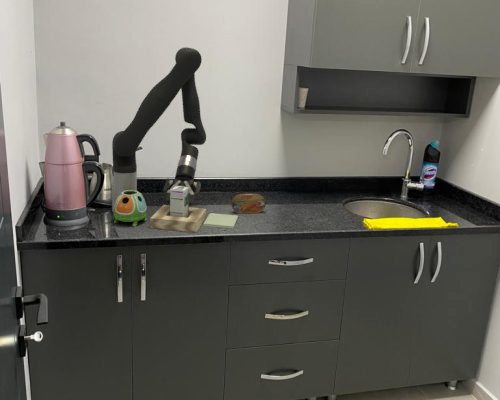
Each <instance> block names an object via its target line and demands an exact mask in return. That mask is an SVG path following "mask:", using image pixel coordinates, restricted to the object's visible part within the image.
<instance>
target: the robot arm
mask: <svg viewBox="0 0 500 400" xmlns="http://www.w3.org/2000/svg"><path fill="white" fill-rule="evenodd" d="M174 59H175V65H174V66H173V67H172V68H171V70H170V71H169V72H168V74H167V75H165V76H164V78H162V79H161V80H160V81H158V82H157V84H155V85H154V86H153V87H152V88H151V89H150V91H149V92H148V93H147V94H146V96H145V97H144V99H143V100H142V102H141V103H140V105H139V107H138V109H137V112H136V113H135V116H134V117H133V119H132V120H131V122H130V124H128V126H126V128H125V129H124V130H121V131H118V132H117V133H115V134H114V135H113V138H112V142H111V143H112V145H111V147H112V148H111V149H112V166H113V171H112V173H113V189H111V202H112V203H111V208H112V209H111V211H112V213H114V209H113V208H114V205H115V202H116V200H117V198H118V197H119V196H120V195H121V193H122V192H123V191H126V190H134V191H138V190H137V189H138V187H137V186H138V184H137V183H138V180H137V179H138V178H137V175H138V174H137V173H138V172H137V168H138V167H137V165H138V164H137V159H136V157H137V156H136V151H137V150H138V148H139V147H140V145H141V143H142V142H143V140H144V138H145V137H146V135H147V133H148V132H149V131H150V129H151V128H152V127H153V126H154V125H155V124H156V123H157V122H158V121H159V119H161V118H160V117H161V116H162V115H163V114H164V113H165V111H167V109H168V108H169V106H171V103H172V102H173V100H174V99H175V98H176V97H177V95H178V94H179V92H180V91H181V98H182V100H181V101H182V113H183V121H184V123H186V124H191V125H193V126H194V127H185V128H184V129H183V130H182V131H181V133H180V139H181V152H180V157H179V160H178V163H177V168H176V171H175V176H174V179H173V180H172V179H170V178H166V180H165V183H164V187H163V189H162V191H163V193H164V194H165V195H166V198H165V201H166V203H167V204H168V205H170V190H171V189H172V188H174V187H175V186H185V187H189V188H188V190H189V202H188V204H189V207H191V206H192V205H193V204H194V200H195V198H199V197H200V193H201V188H202V187H201V182H200V181H199V180H198V181H194V179H195V175H196V171H197V162H198V158H199V149H198V147H197V146H202V145H204V144H205V143H206V141H207V133H206V131H205V130H206V129H205V128H204V125H203V121H202V118H201V117H202V116H201V105H200V98H199V95H198V89H197V85H196V78H195V76H196V75H195V73H196V72H197V71H198V70H199V68H200V67H201V64H202V54H201V53H200V52H199V50H197V49H195V48H192V47H187V46H186V47H181V48H180V49H178V50H177V51H176V53H175V56H174ZM171 185H172V186H171ZM170 186H171V187H170ZM193 187H195V191H193V189H192V188H193ZM169 188H170V189H169ZM132 194H135V193H132Z"/></svg>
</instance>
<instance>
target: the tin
mask: <svg viewBox="0 0 500 400" xmlns="http://www.w3.org/2000/svg"><path fill="white" fill-rule="evenodd" d="M230 204H231V205H230V206H231V208H232V209H233V211H234V212H235V213H236V214H239V215H240V214H241V215H243V214H259V213H261V212H263V210H264V209H265V207H266V205H267V202H266V199H265V197H264V196H263V195H261V194H259V193H239V194H236V195H235V196H234V197H232V200H231V203H230Z"/></svg>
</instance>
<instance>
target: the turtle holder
mask: <svg viewBox="0 0 500 400" xmlns="http://www.w3.org/2000/svg"><path fill="white" fill-rule="evenodd" d="M132 193H135V194H132ZM113 209H114V212H113V217H114V218H115V220H114V221H113V223H114V224H118V223H119V222H125V223H127V222H128V223H130V222H132V224H131V226H132V227H137V226H138V222H139V221H143V222H146V221H147V219H148V218H147V203H146V200H145V198H144V196H143V193H141V192H140V191H138V190H137V191H134V190H126V191H123V192H122V193H121V195H120V196H119V197H118V198H117V200H116V202H115V205H114V208H113Z"/></svg>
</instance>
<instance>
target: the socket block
mask: <svg viewBox="0 0 500 400" xmlns="http://www.w3.org/2000/svg"><path fill="white" fill-rule="evenodd" d="M206 219H207V208H203V207H202V208H201V207H193V206H192V207H191V206H189V209H188V218H185V217H174V216H170V204H168V205H166V204H162V206H161V207H160V208H159V209H158V210H157V211H156V212H155V213H154V214H153V215H151V216H150V220H149V221H150V222H149V223H150V229H159V230H168V231H178V232H179V231H180V232H188V233H197V232H198V231H199V230H200V228H201V226H202V224H203V223H204V222H205V220H206Z"/></svg>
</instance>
